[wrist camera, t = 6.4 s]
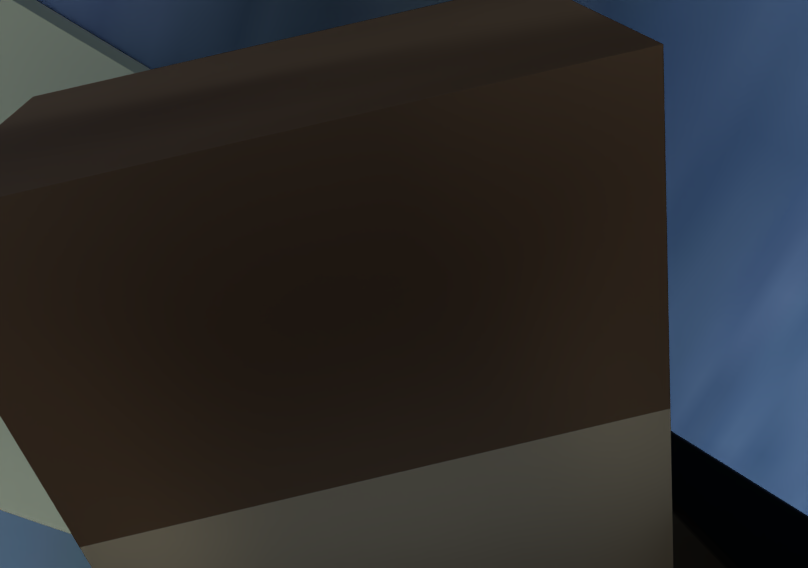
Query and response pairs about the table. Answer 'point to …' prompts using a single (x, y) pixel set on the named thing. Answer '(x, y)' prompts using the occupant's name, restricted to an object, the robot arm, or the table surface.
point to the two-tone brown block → (351, 298)
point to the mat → (3, 95)
